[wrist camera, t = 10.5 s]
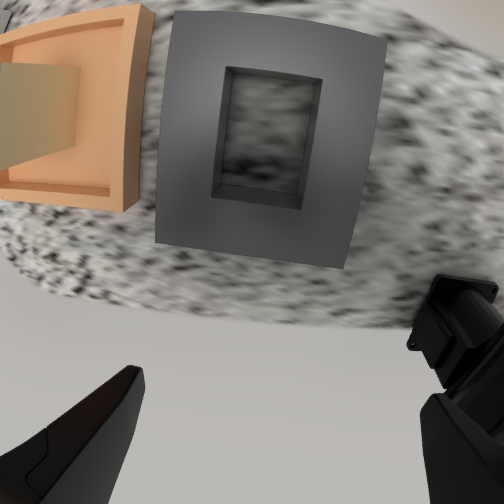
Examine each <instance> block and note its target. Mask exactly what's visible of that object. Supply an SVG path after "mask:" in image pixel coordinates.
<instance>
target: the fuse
mask: <svg viewBox="0 0 504 504" xmlns="http://www.w3.org/2000/svg"><path fill="white" fill-rule="evenodd" d="M80 70H81V68H79V67H70V66H60V65H48V64H33V63H9V62H0V171H2V170H5V169H8V168H10V167H13V166H16V165H19V164H21V163H24V162H27V161H30V160H33V159H36V158H39V157H42V156H45V155H48V154H52V153H55V152H58V151H62V150H65V149H68V148H72V147H75V137H76V115H77V100H78V89H79V79H80Z"/></svg>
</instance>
